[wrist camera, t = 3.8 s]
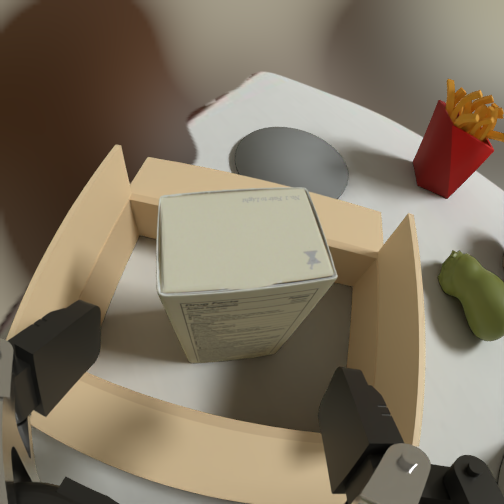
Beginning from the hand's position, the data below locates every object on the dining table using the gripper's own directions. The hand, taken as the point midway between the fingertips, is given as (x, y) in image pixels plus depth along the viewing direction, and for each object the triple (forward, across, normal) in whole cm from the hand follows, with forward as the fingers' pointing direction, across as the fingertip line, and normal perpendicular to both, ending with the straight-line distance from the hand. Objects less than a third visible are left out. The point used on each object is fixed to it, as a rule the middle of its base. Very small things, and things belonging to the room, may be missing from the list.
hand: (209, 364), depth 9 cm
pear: (+16, -22, 0) cm, 28 cm away
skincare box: (+11, 0, +5) cm, 12 cm away
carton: (+11, 0, +4) cm, 12 cm away
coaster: (+24, -2, -9) cm, 26 cm away
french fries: (+27, -21, -12) cm, 37 cm away
